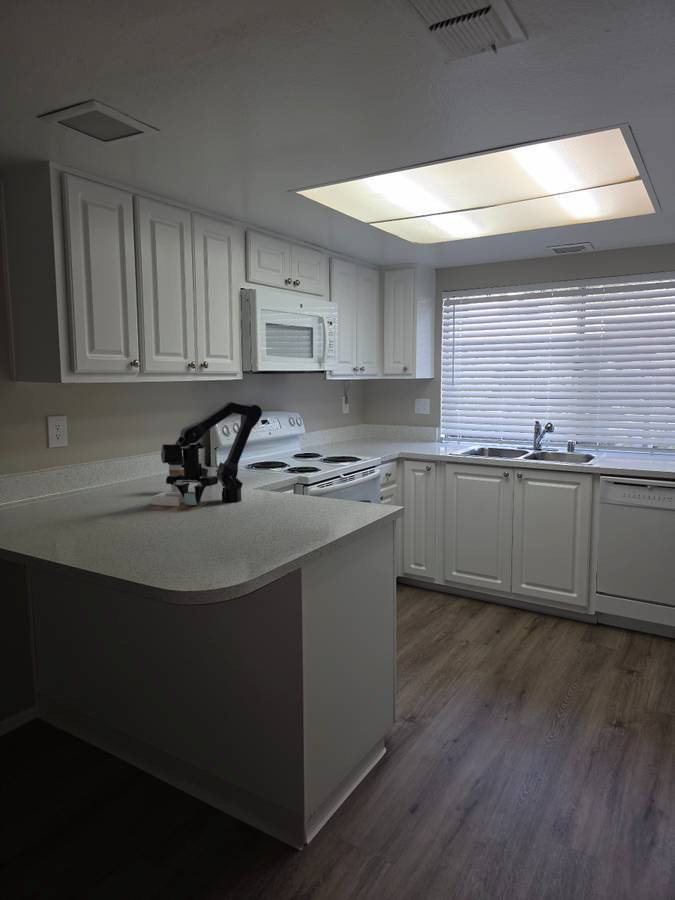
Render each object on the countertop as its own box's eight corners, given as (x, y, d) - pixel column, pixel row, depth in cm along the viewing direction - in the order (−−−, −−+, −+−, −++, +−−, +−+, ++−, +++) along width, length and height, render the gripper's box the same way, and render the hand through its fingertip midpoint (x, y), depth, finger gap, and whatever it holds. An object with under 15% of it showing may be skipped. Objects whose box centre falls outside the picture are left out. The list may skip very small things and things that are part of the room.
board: (207, 506, 232) (207, 503, 232) (187, 514, 219) (187, 511, 219) (165, 503, 238) (165, 500, 238) (143, 511, 224) (143, 508, 224)
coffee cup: (186, 494, 255) (185, 458, 253) (166, 494, 255) (164, 458, 253) (191, 490, 263) (190, 455, 261) (172, 490, 263) (170, 455, 262)
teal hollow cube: (200, 502, 230) (200, 492, 230) (194, 505, 226) (194, 494, 226) (190, 502, 231) (190, 491, 231) (184, 504, 227) (184, 493, 227)
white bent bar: (190, 501, 234) (190, 493, 233) (178, 506, 226) (177, 497, 226) (165, 500, 237) (164, 492, 237) (152, 504, 229) (151, 496, 229)
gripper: (224, 459, 232) (225, 500, 233) (180, 457, 237) (182, 497, 239) (209, 463, 221) (210, 506, 223) (164, 461, 227) (166, 503, 229)
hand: (192, 503), depth 229 cm, fingers closed on teal hollow cube, 4 cm apart
